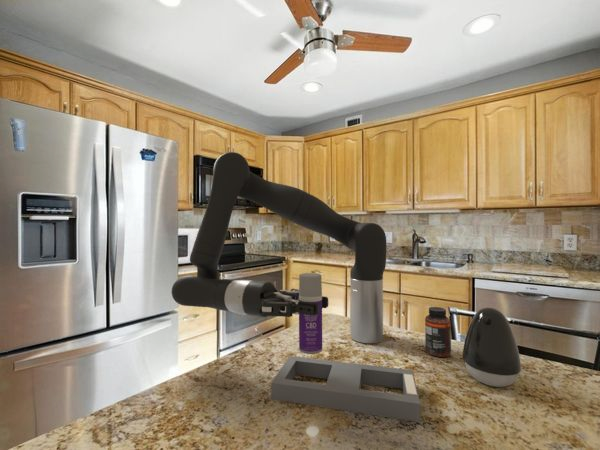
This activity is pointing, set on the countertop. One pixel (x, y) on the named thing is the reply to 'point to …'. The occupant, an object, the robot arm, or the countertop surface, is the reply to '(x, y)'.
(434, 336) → the supplement bottle
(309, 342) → the container
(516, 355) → the pump dispenser
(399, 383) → the socket board
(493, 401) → the countertop surface
